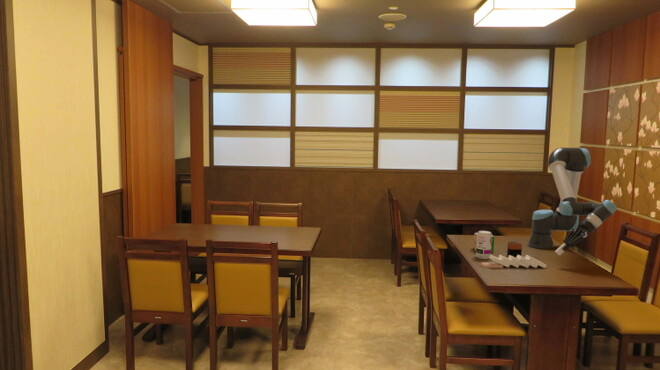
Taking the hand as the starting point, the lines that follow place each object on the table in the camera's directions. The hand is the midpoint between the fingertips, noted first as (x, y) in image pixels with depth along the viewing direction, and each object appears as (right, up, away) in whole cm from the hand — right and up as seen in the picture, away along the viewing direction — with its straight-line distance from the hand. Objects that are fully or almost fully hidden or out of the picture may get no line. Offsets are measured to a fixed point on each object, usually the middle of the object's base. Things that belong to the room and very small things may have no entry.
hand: (557, 253), depth 261 cm
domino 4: (-17, -6, 0) cm, 18 cm away
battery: (-17, -5, +18) cm, 25 cm away
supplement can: (-35, -5, +17) cm, 39 cm away
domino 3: (-22, -6, 0) cm, 23 cm away
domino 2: (-27, -6, -1) cm, 28 cm away
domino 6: (-7, -6, 0) cm, 10 cm away
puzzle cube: (-29, -3, +34) cm, 45 cm away
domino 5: (-12, -6, 0) cm, 14 cm away
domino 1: (-31, -6, -1) cm, 31 cm away
